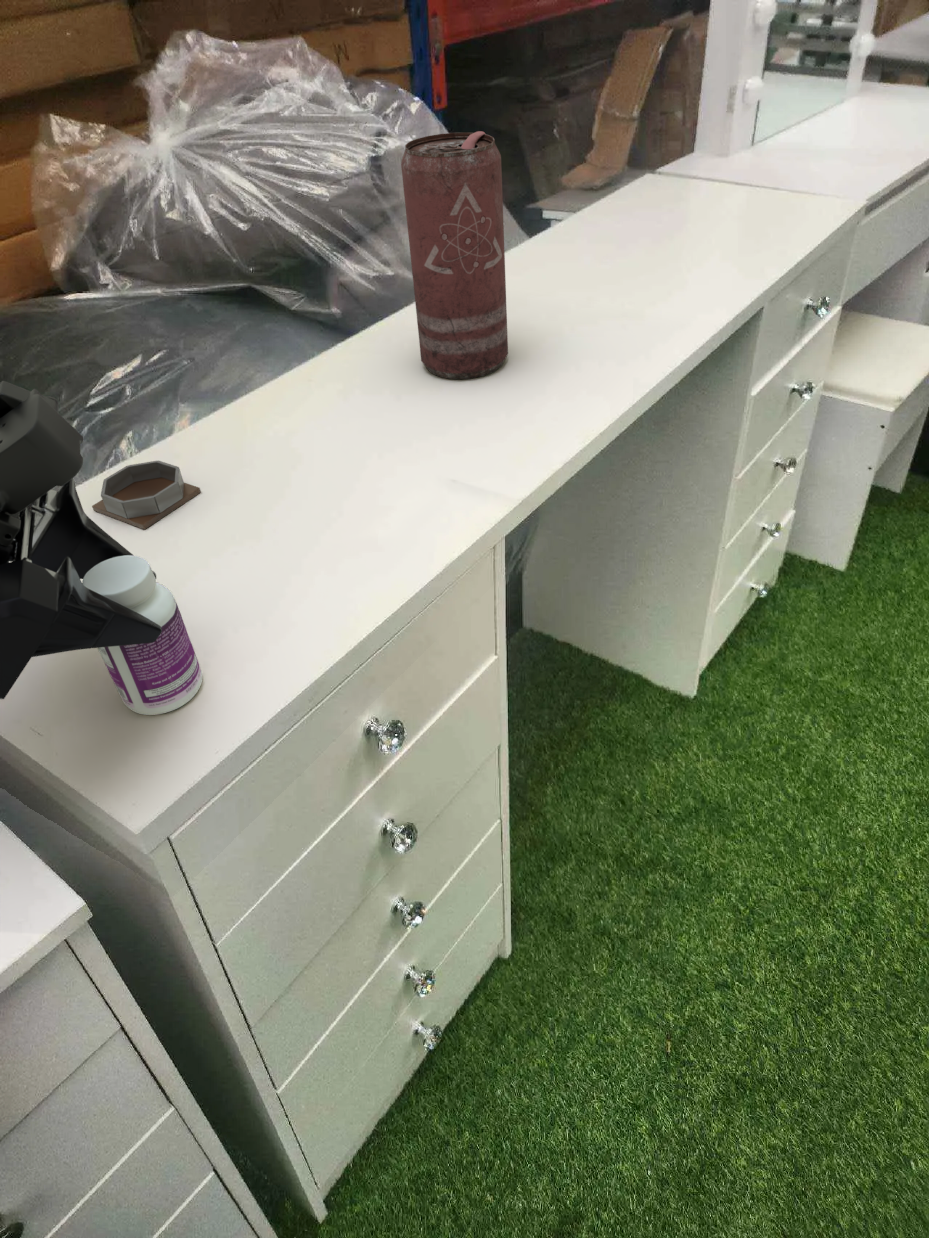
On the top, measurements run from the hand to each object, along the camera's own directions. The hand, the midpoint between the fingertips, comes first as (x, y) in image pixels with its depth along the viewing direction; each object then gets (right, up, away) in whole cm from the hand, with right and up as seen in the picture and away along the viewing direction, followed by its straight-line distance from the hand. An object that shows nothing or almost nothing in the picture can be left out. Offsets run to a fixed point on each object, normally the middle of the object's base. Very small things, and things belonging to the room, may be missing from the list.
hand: (155, 607), depth 54 cm
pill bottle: (-1, -5, +4) cm, 7 cm away
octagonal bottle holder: (-9, +10, +23) cm, 26 cm away
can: (+19, +27, +41) cm, 53 cm away
